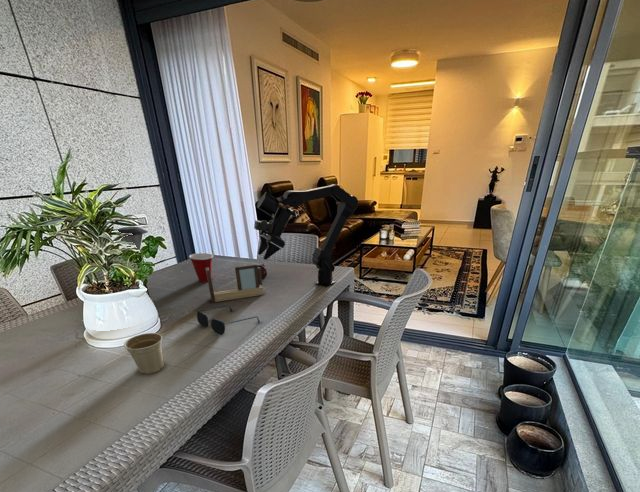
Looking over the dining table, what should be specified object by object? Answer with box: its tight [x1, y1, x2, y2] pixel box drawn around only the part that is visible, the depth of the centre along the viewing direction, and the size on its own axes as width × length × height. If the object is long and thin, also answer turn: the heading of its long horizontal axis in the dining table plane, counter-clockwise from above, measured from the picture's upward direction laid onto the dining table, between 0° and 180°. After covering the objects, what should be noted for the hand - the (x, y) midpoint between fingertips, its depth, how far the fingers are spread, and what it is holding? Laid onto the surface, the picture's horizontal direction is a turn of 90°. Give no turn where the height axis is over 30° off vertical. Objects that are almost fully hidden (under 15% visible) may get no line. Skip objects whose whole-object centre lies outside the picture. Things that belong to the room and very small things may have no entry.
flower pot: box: [123, 332, 164, 375], centre depth 95 cm, size 9×9×9 cm
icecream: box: [257, 263, 268, 280], centre depth 166 cm, size 7×7×15 cm
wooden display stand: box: [205, 267, 265, 303], centre depth 144 cm, size 21×5×13 cm, turn 111°
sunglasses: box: [196, 304, 260, 336], centre depth 122 cm, size 17×15×5 cm
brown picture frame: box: [234, 264, 263, 291], centre depth 145 cm, size 10×2×11 cm, turn 111°
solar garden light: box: [117, 226, 151, 298], centre depth 132 cm, size 12×12×30 cm
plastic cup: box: [188, 252, 214, 283], centre depth 166 cm, size 11×11×12 cm
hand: (261, 256), depth 143 cm, fingers open, 9 cm apart
